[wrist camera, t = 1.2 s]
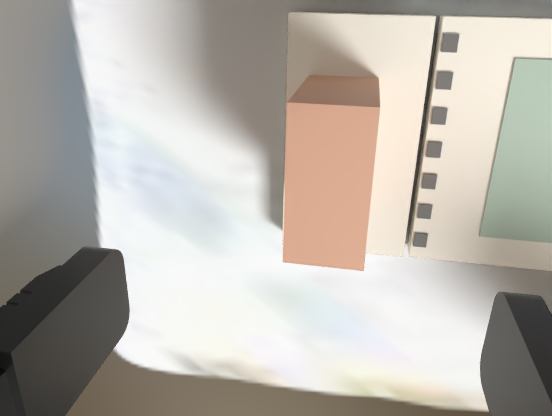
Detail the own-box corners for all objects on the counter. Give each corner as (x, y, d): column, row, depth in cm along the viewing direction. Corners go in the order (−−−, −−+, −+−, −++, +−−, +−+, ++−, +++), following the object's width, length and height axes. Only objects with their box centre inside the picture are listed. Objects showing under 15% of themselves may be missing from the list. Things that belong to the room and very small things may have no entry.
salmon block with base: (432, 15, 21) (458, 25, 14) (401, 245, 25) (411, 333, 19) (292, 11, 22) (257, 20, 15) (286, 234, 26) (256, 313, 20)
